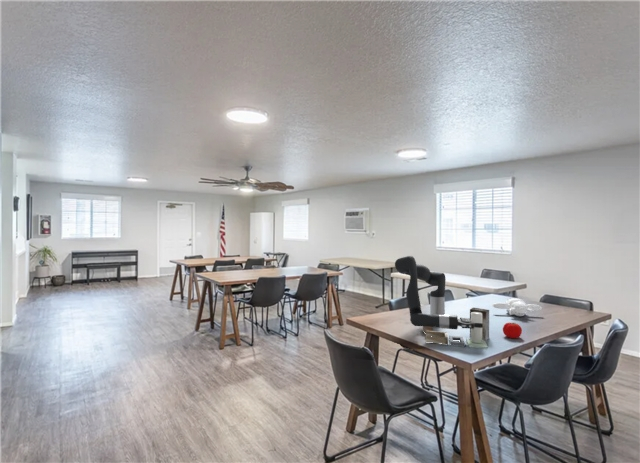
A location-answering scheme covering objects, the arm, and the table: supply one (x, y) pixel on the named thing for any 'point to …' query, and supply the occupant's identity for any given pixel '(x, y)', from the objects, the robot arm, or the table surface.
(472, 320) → the white tall block
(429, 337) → the cubby
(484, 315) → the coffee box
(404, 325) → the table surface
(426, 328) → the walnut block
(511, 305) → the white quadcopter drone
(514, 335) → the tomato
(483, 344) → the pad
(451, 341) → the hole plate
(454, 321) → the robot arm
